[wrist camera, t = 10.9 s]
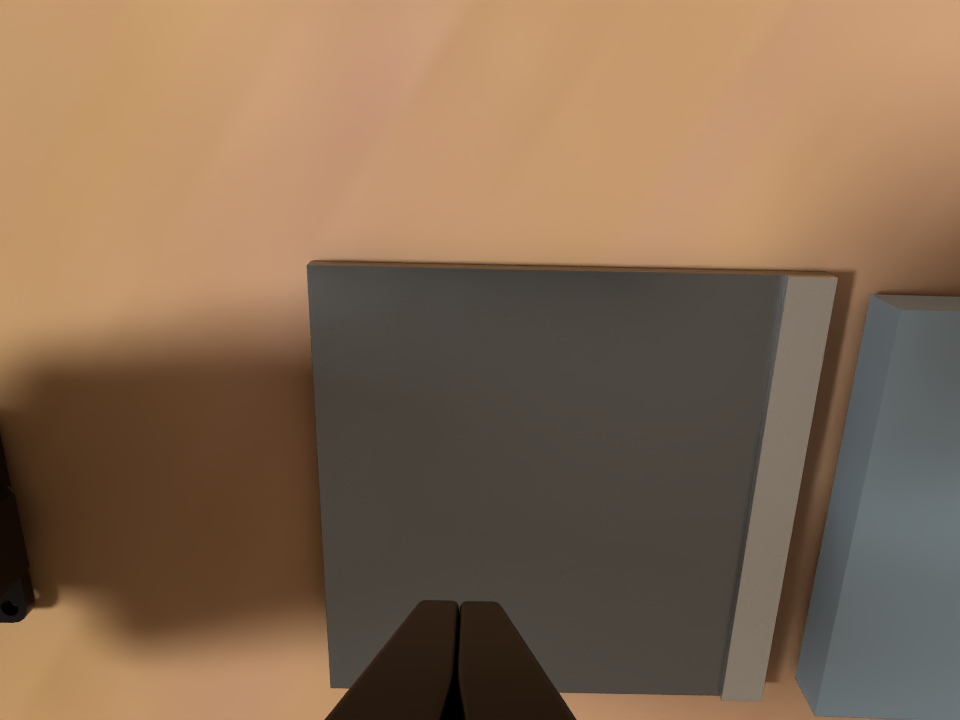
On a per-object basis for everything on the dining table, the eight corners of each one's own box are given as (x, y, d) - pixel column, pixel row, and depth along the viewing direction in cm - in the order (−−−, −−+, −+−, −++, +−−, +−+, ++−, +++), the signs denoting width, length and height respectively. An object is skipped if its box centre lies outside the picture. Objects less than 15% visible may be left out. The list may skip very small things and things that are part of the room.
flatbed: (333, 676, 23) (329, 692, 22) (311, 260, 19) (305, 266, 18) (753, 684, 23) (761, 701, 22) (825, 271, 19) (837, 278, 18)
